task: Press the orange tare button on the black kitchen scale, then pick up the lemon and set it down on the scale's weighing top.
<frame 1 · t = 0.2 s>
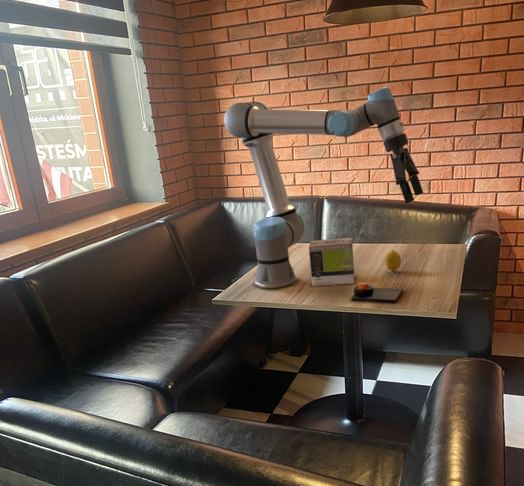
hand: (414, 198, 180), 27 cm above the table, tool tilted 20°, fingers open, 13 cm apart
lemon: (393, 272, 197), on the table
tare button: (363, 285, 174), point 4 cm above the table, slide at 0.2 cm
scale: (377, 296, 173), on the table
tea box: (333, 281, 194), on the table
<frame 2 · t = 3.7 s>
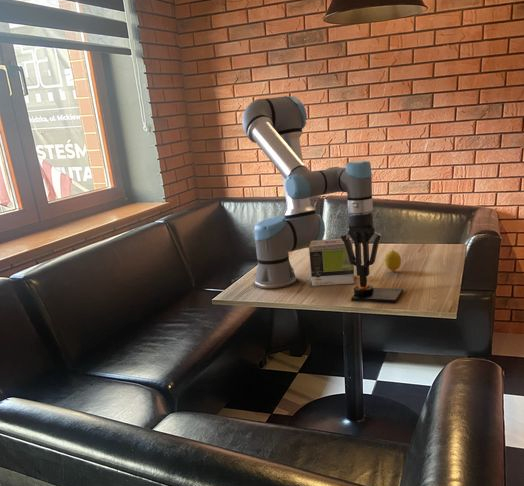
hand: (363, 285, 174), 4 cm above the table, tool pointing down, fingers closed
tare button: (363, 288, 174), point 3 cm above the table, slide at -0.8 cm, touching gripper
everything else where it was.
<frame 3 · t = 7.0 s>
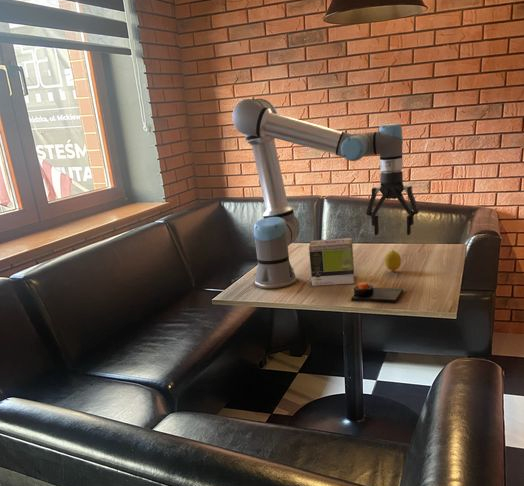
hand: (392, 234, 192), 14 cm above the table, tool pointing down, fingers open, 11 cm apart
tare button: (363, 285, 174), point 4 cm above the table, slide at 0.1 cm
everything else where it was.
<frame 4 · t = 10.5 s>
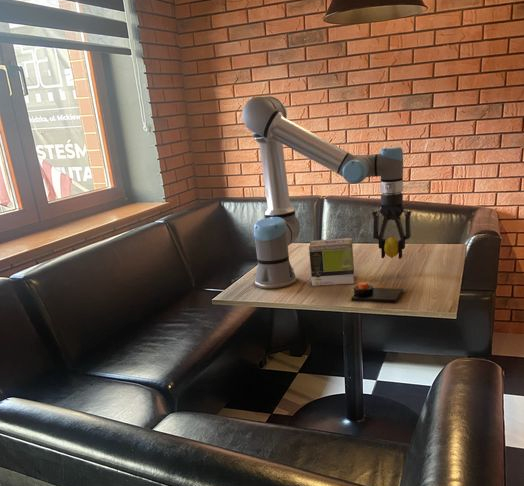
hand: (391, 257, 195), 5 cm above the table, tool pointing down, fingers closed on lemon, 5 cm apart
lemon: (391, 258, 196), point 5 cm above the table, touching gripper
everything else where it was.
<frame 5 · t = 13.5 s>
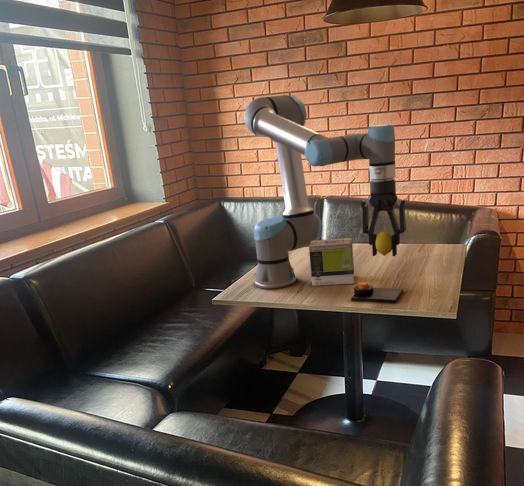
hand: (384, 254, 168), 14 cm above the table, tool pointing down, fingers closed on lemon, 5 cm apart
lemon: (384, 256, 168), point 13 cm above the table, touching gripper
everything else where it was.
when the fingers open (1 cm above the table, at t = 16.6 s): lemon stays where it is, resting on scale.
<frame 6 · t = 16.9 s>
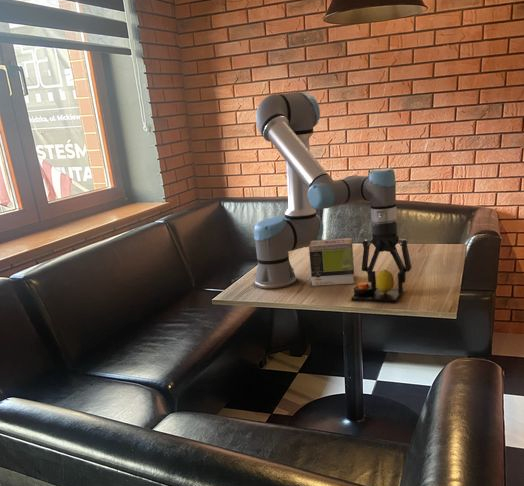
hand: (387, 291, 171), 2 cm above the table, tool pointing down, fingers open, 8 cm apart
lemon: (385, 294, 172), point 1 cm above the table, touching scale
everything else where it was.
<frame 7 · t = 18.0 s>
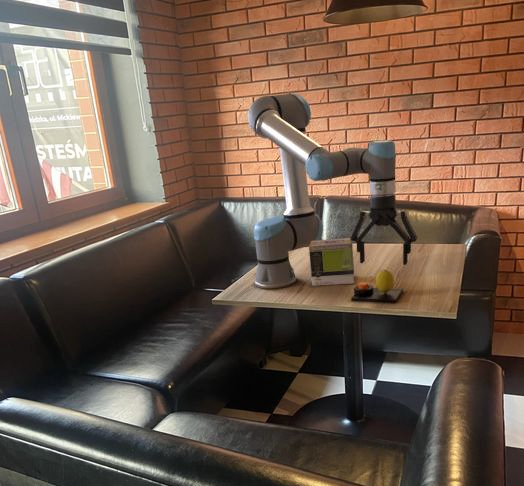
hand: (383, 263, 168), 11 cm above the table, tool pointing down, fingers open, 13 cm apart
nothing on the table moved.
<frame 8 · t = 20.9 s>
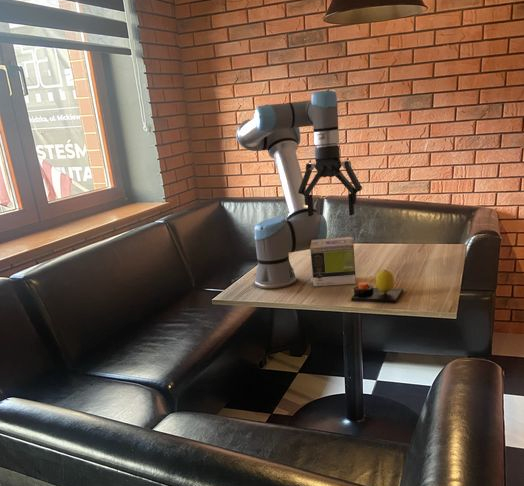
hand: (331, 215, 170), 27 cm above the table, tool pointing down, fingers open, 13 cm apart
tea box: (334, 280, 193), on the table, touching arm
everything else where it was.
at the end: tare button pushed in 1.0 cm at the most during the clip, back to where it started at the end; tare button slide at 0.1 cm; lemon inside the target area on the scale (1.8 cm from its centre), point 1.0 cm above the scale's base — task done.
